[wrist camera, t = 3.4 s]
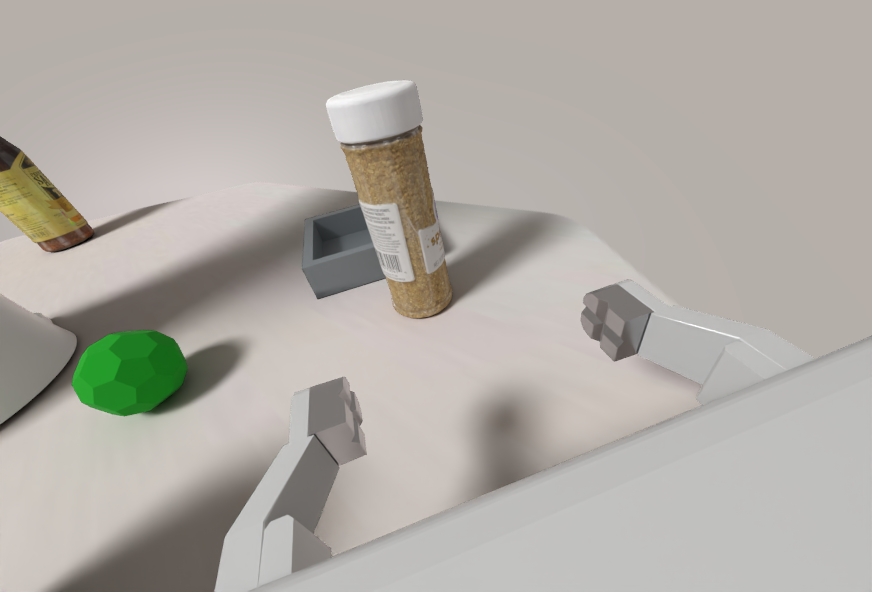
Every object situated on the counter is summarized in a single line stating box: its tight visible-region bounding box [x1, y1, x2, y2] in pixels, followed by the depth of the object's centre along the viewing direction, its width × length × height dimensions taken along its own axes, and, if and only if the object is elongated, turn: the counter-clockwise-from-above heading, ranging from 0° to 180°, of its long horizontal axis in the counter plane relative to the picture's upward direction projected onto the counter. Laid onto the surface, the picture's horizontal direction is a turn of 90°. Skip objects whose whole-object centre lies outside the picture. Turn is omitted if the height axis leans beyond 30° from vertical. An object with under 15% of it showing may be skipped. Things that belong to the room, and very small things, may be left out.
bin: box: [302, 204, 386, 299], centre depth 30 cm, size 10×10×3 cm
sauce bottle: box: [0, 137, 94, 252], centre depth 42 cm, size 6×6×20 cm
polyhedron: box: [72, 330, 188, 416], centre depth 20 cm, size 5×5×5 cm
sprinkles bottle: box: [326, 80, 452, 318], centre depth 20 cm, size 5×5×13 cm
